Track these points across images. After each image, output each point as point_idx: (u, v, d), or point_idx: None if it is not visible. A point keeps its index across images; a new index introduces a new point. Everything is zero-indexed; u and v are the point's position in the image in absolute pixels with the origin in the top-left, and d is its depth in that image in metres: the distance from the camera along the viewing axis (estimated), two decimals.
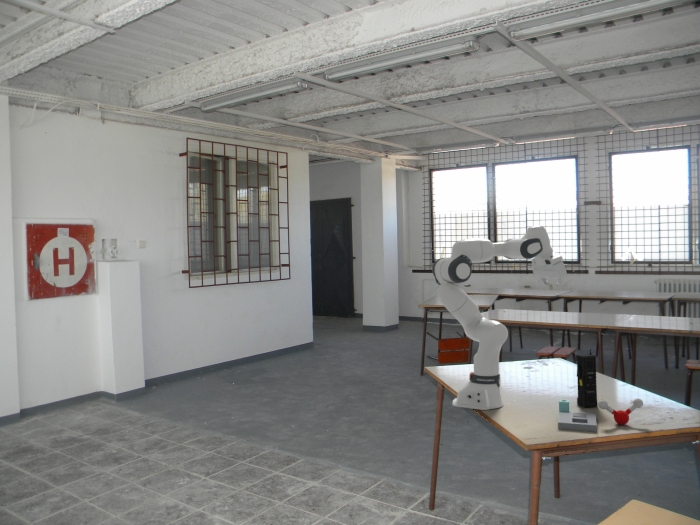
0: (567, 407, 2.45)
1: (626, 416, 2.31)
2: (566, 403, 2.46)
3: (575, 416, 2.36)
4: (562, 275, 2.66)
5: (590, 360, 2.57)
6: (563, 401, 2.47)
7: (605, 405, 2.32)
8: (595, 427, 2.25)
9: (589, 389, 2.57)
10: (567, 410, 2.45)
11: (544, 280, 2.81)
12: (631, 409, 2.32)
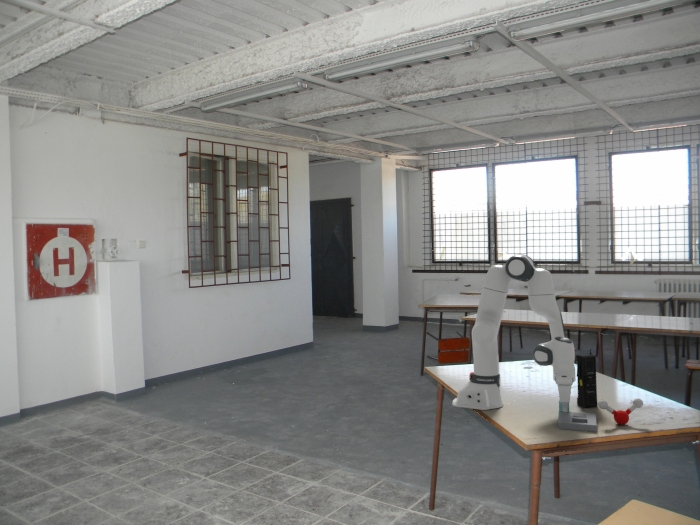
0: (567, 407, 2.45)
1: (626, 416, 2.31)
2: None
3: (575, 416, 2.36)
4: (562, 401, 2.39)
5: (590, 360, 2.57)
6: None
7: (605, 405, 2.32)
8: (595, 427, 2.25)
9: (589, 389, 2.57)
10: (567, 410, 2.45)
11: None
12: (631, 409, 2.32)
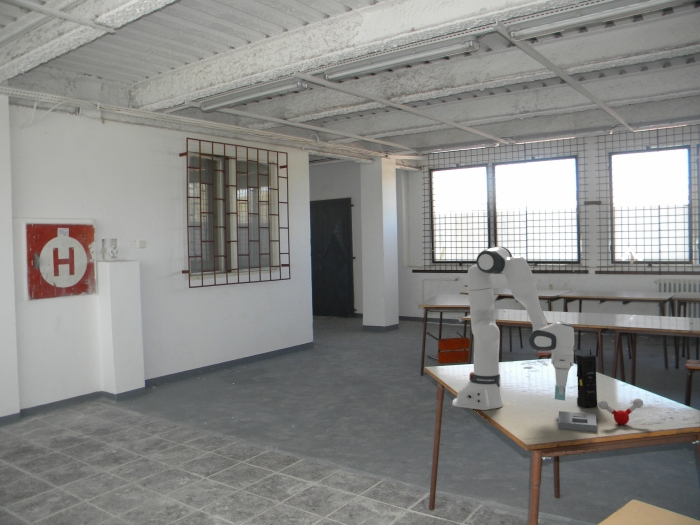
0: None
1: (626, 416, 2.31)
2: None
3: (575, 416, 2.36)
4: (559, 384, 2.39)
5: (590, 360, 2.57)
6: None
7: (605, 405, 2.32)
8: (595, 427, 2.25)
9: (589, 389, 2.57)
10: (563, 394, 2.46)
11: None
12: (631, 409, 2.32)
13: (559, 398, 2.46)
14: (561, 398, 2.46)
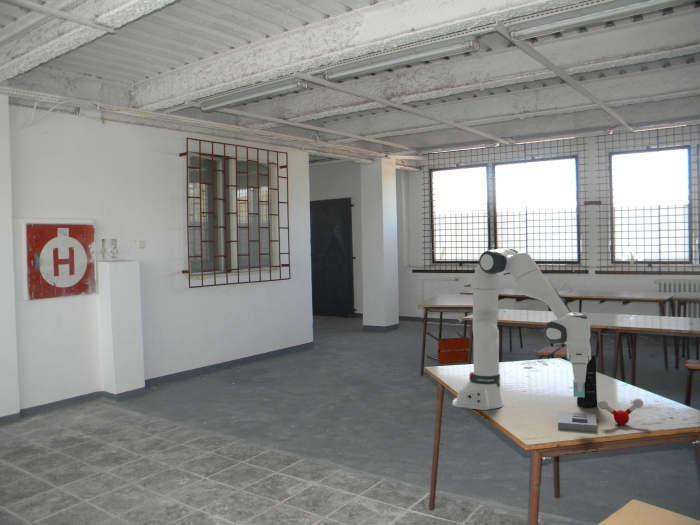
0: (582, 387, 2.28)
1: (626, 416, 2.31)
2: None
3: (575, 416, 2.36)
4: (577, 380, 2.21)
5: (590, 360, 2.57)
6: None
7: (605, 405, 2.32)
8: (595, 427, 2.25)
9: (589, 389, 2.57)
10: None
11: None
12: (631, 409, 2.32)
13: (578, 395, 2.29)
14: (580, 395, 2.29)
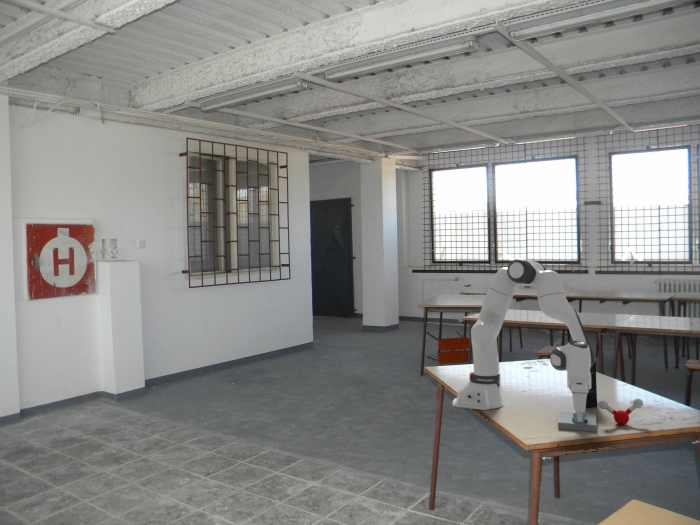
0: (582, 419, 2.29)
1: (626, 416, 2.31)
2: None
3: None
4: (577, 410, 2.22)
5: None
6: None
7: (605, 405, 2.32)
8: (595, 427, 2.25)
9: None
10: (582, 422, 2.29)
11: None
12: (631, 409, 2.32)
13: None
14: None
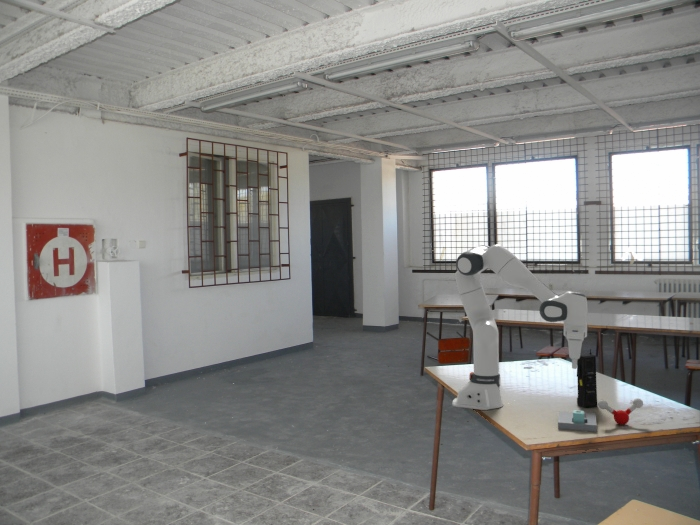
0: (582, 419, 2.29)
1: (626, 416, 2.31)
2: (581, 415, 2.29)
3: None
4: (572, 356, 2.27)
5: (590, 360, 2.57)
6: (578, 412, 2.30)
7: (605, 405, 2.32)
8: (595, 427, 2.25)
9: (589, 389, 2.57)
10: (582, 422, 2.29)
11: None
12: (631, 409, 2.32)
13: None
14: None
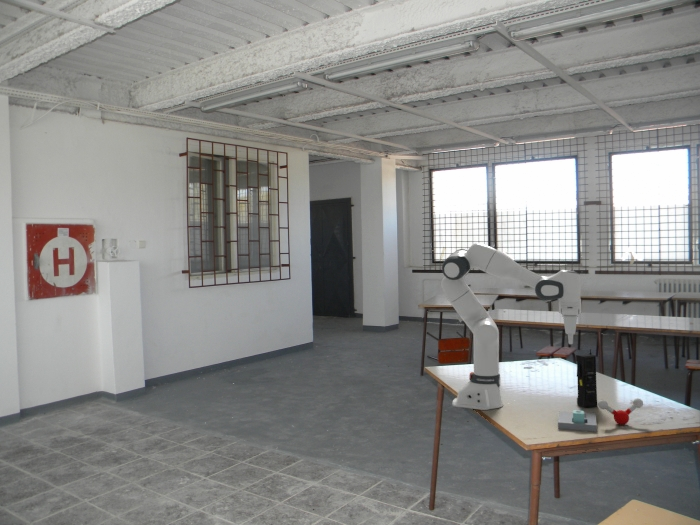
0: (582, 419, 2.29)
1: (626, 416, 2.31)
2: (581, 415, 2.29)
3: None
4: (568, 331, 2.36)
5: (590, 360, 2.57)
6: (578, 412, 2.30)
7: (605, 405, 2.32)
8: (595, 427, 2.25)
9: (589, 389, 2.57)
10: (582, 422, 2.29)
11: None
12: (631, 409, 2.32)
13: None
14: None
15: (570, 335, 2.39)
